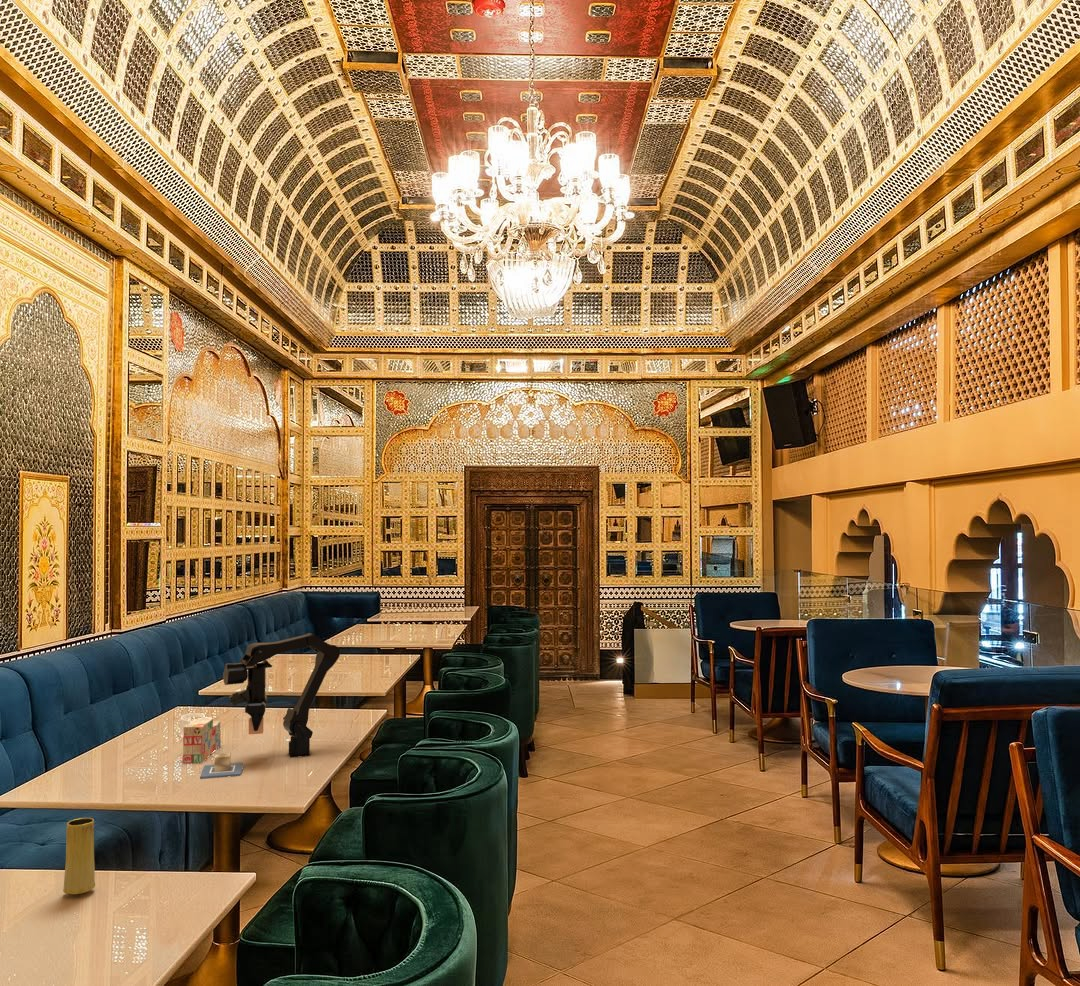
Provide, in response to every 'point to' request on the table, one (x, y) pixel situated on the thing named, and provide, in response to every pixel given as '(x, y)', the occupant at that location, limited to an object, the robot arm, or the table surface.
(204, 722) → the stack of blocks
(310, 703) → the robot arm
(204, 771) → the board
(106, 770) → the table surface
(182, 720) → the white piece
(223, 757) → the maple block
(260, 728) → the terracotta block
